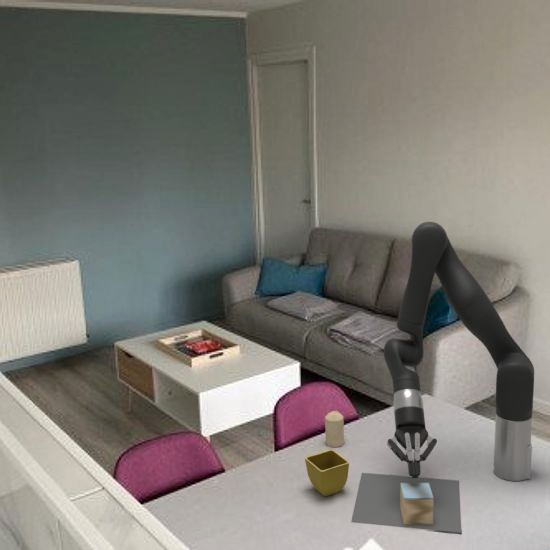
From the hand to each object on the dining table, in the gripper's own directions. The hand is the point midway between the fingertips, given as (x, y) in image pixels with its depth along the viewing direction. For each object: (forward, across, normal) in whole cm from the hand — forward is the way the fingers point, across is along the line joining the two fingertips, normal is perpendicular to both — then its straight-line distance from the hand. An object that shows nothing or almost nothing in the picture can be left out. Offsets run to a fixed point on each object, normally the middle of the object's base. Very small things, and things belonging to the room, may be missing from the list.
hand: (415, 477), depth 171 cm
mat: (+3, -1, +10) cm, 11 cm away
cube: (+3, 0, 0) cm, 3 cm away
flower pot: (0, -22, +14) cm, 26 cm away
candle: (-20, -19, +33) cm, 43 cm away
